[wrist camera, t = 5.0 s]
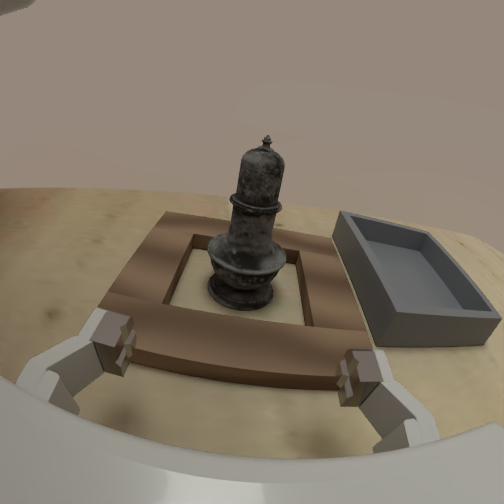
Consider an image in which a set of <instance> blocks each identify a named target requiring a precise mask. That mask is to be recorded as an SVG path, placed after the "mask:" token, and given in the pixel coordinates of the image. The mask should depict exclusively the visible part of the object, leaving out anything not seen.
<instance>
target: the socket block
mask: <svg viewBox="0 0 504 504" xmlns="http://www.w3.org/2000/svg"><path fill="white" fill-rule="evenodd" d="M230 225H231V221H227V220H221V219H214V218H208V217H201V216H194V215H188V214H181V213H174V212H167V211H166V212H165V214H164V215H163V216H162V217H161V219H160V220H159V221H158V222H157V224H156V225H155V226H154V228H153V229H152V230H151V232H150V233H149V234H148V235H147V237H146V238H145V239H144V241H143V242H142V243H141V245H140V246H139V248H138V249H137V250H136V252H135V253H134V254H133V256H132V257H131V259H130V260H129V261H128V263H127V264H126V266H125V267H124V268H123V270H122V271H121V273H120V274H119V276H118V277H117V278H116V280H115V281H114V283H113V284H112V286H111V287H110V289H109V290H108V292H107V293H106V295H105V296H104V298H103V299H102V301H101V302H100V304H99V306H98V308H101V309H105V310H109V311H112V312H116V313H119V314H123V315H126V316H130V317H132V318H133V320H134V326H133V330H134V331H135V332H136V346H135V350H134V353H133V355H132V356H130V357H128V361H130V362H134V363H138V364H142V365H146V366H150V367H154V368H158V369H162V370H167V371H171V372H176V373H181V374H186V375H191V376H197V377H202V378H208V379H214V380H221V381H227V382H234V383H242V384H250V385H259V386H269V387H281V388H294V389H314V390H340V389H341V388H340V387H339V386H338V385H337V384H336V379H335V373H336V369H337V366H338V364H339V362H341V361H342V360H344V359H345V357H344V354H345V353H346V351H347V350H348V349H369V350H373V348H372V345H371V342H370V339H369V336H368V333H367V330H366V327H365V324H364V322H363V319H362V316H361V313H360V311H359V308H358V305H357V302H356V300H355V297H354V295H353V292H352V289H351V287H350V284H349V282H348V279H347V277H346V274H345V272H344V269H343V267H342V264H341V262H340V259H339V257H338V255H337V252H336V250H335V247H334V245H333V243H332V240H331V238H326V237H321V236H315V235H310V234H304V233H299V232H293V231H287V230H282V229H276V228H273V230H272V240H273V241H274V242H276V243H277V244H279V245H280V246H281V248H282V249H283V250H284V252H285V254H286V262H287V263H293V264H296V269H297V275H298V281H299V287H300V293H301V300H302V306H303V313H304V320H305V326H302V325H293V324H285V323H277V322H269V321H262V320H254V319H247V318H241V317H234V316H228V315H222V314H215V313H209V312H204V311H198V310H192V309H187V308H182V307H176V306H171V305H169V303H170V300H171V298H172V295H173V293H174V290H175V288H176V286H177V283H178V281H179V278H180V276H181V274H182V271H183V269H184V267H185V264H186V262H187V260H188V257H189V255H190V253H191V250H192V248H199V249H205V250H207V246H208V243H209V241H210V240H211V239H212V238H214V237H215V236H217V235H219V234H221V233H226V232H228V230H229V227H230Z"/></svg>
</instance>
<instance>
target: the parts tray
mask: <svg viewBox="0 0 504 504" xmlns="http://www.w3.org/2000/svg"><path fill="white" fill-rule="evenodd" d="M332 237H333V239H334V241H335V244H336V246H337V248H338V250H339V253H340V255H341V257H342V260H343V262H344V264H345V267H346V269H347V271H348V274H349V276H350V279H351V281H352V283H353V286H354V288H355V291H356V293H357V296H358V299H359V301H360V304H361V306H362V309H363V311H364V314H365V317H366V319H367V322H368V325H369V328H370V330H371V333H372V336H373V339H374V342H375V344H376V346H385V347H450V346H473V345H484V343H485V342H486V341H487V339H488V338H489V337H490V335H491V334H492V332H493V331H494V330H495V328H496V327H497V325H498V324H499V322H500V321H501V319H502V318H501V316H500V315H499V314H498V312H497V311H496V309H495V308H494V307H493V305H492V304H491V303H490V301H489V300H488V299H487V298H486V296H485V295H484V294H483V292H482V291H481V290H480V289H479V288H478V286H477V285H476V284H475V283H474V281H473V280H472V279H471V278H470V277H469V275H468V274H467V273H466V272H465V271H464V270H463V268H462V267H461V266H460V265H459V264H458V263H457V262H456V261H455V259H454V258H453V257H452V256H451V255H450V254H449V253H448V252H447V251H446V250H445V249H444V248H443V246H442V245H441V244H440V243H439V242H438V241H437V240H436V239H435V238H434V237H433V236H432V235H431V234H430V233H429V232H426V231H423V230H419V229H415V228H411V227H407V226H404V225H400V224H396V223H392V222H387V221H383V220H379V219H375V218H371V217H366V216H362V215H358V214H353V213H349V212H344V211H340V212H339V216H338V219H337V222H336V225H335V229H334V232H333V235H332Z"/></svg>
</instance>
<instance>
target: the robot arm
mask: <svg viewBox="0 0 504 504" xmlns="http://www.w3.org/2000/svg"><path fill="white" fill-rule="evenodd" d="M35 1H36V0H0V16H1V15H4V14H8V13H11V12H14V11H17V10H20V9H24V8H27V7H29V6H30V5H31V4H33V3H34V2H35ZM133 326H134V320H133V318H132V317H130V316H126V315H123V314H119V313H116V312H112V311H109V310H105V309H101V308H98V307H97V308H96V309H94V311H93V312H92V314H91V315H90V317H89V318H88V320H87V322H86V323H85V325H84V326H83V328H82V330H81V331H80V333H79V335H78V336H75V335H74V336H72V337H70V338H69V339H67V340H65V341H63V342H61V343H59V344H57V345H55V346H54V347H52V348H50V349H48V350H46V351H44V352H42V353H41V354H39V355H37V356H35V357H33V358H31V359H29V361H28V363H27V364H26V366H25V368H24V369H23V371H22V373H21V374H20V376H19V378H18V380H17V381H16V383H15V384H14V383H12V382H11V381H9V380H7V379H6V378H4V377H3V376H1V375H0V504H504V427H503V426H502V425H500V424H499V423H498V422H490V423H487V424H485V425H482V426H480V427H477V428H474V429H472V430H469V431H466V432H463V433H460V434H457V435H454V436H450V437H447V438H444V439H440V436H439V432H438V429H437V426H436V423H435V420H434V417H433V414H432V413H431V412H430V411H429V410H427V409H426V408H425V407H424V406H423V405H422V404H421V403H420V402H419V401H418V400H417V399H416V398H415V397H414V396H413V395H412V394H411V393H410V392H408V391H407V390H406V389H405V388H404V387H403V386H402V385H401V384H400V383H399V382H398V381H395V380H394V377H393V375H392V372H391V369H390V366H389V363H388V360H387V357H386V355H385V352H384V351H383V350H369V349H348V350H347V351H346V353H345V354H344V357H345V359H344V360H342V361H341V362H339V364H338V366H337V369H336V373H335V379H336V384H337V385H338V386H339V387H340V388H341V389H340V390H339V392H338V397H339V402H340V407H359V409H360V410H361V411H362V413H363V414H364V415H365V417H366V418H367V419H368V421H369V422H370V423H371V424H372V426H373V427H374V428H375V430H376V431H377V432H378V434H379V435H380V436H381V438H382V440H381V441H379V442H378V443H377V444H375V445H374V447H373V454H365V455H357V456H347V457H334V458H314V459H278V458H258V457H245V456H235V455H226V454H218V453H211V452H205V451H199V450H193V449H188V448H183V447H178V446H173V445H169V444H164V443H160V442H156V441H152V440H148V439H145V438H141V437H138V436H134V435H131V434H127V433H124V432H121V431H118V430H115V429H112V428H109V427H106V426H103V425H101V424H98V423H95V422H93V421H90V420H87V419H85V418H82V417H80V416H78V414H79V411H80V409H79V406H78V405H77V403H76V402H75V400H74V399H73V396H75V395H76V394H77V393H79V392H80V391H81V390H82V389H84V388H85V387H86V386H88V385H89V384H90V383H91V382H93V381H94V380H95V379H97V378H98V377H99V376H100V375H102V374H103V373H104V372H107V373H111V374H114V375H118V376H121V377H124V375H125V372H126V370H127V367H128V365H129V362H128V357H130V356H132V355H133V353H134V350H135V346H136V332H135V331H134V330H133Z"/></svg>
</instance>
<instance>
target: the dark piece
mask: <svg viewBox="0 0 504 504" xmlns="http://www.w3.org/2000/svg"><path fill="white" fill-rule="evenodd" d="M262 142H263V145H262V146H259V147H258V148H255V149H251V150H249V151H247V152H246V153H245V154H244V155H243V157H242V160H241V167H240V172H239V179H238V185H237V192H236V193H235V194H233V195H231V197H230V202H231V203H232V204H233V211H232V218H231V225H230V227H229V230H228V232H226V233H221V234H219V235H217V236H215V237H214V238H212V239H211V240H210V241H209V243H208V246H207V250H208V254H209V256H210V258H211V263H212V266H213V269H214V271H215V273H214V274H213V275H212V276H211V277H210V279H209V281H208V290H209V293H210V295H211V296H212V297H213V298H214V299H215V300H216V301H217V302H219V303H220V304H222V305H224V306H226V307H229V308H231V309H236V310H255V309H259V308H261V307H264V306H265V305H267V304H268V303H269V302H270V300H271V299H272V297H273V289H272V286H271V284H270V283H269V282H271V281H272V280H273V278H274V277H275V276H276V275H277V273H278V271H279V269H281V268H282V267H283V266H284V264H285V263H286V254H285V252H284V250H283V249H282V248H281V246H280V245H279V244H277V243H276V242H274V241H273V240H272V230H273V225H274V221H275V216H276V213H278V212H280V211H281V210H282V205H281V204H280V202H279V201H278V197H279V192H280V187H281V182H282V177H283V173H284V160H283V158H282V157H281V156H280V155H279V154H278V153H276V152H274V150H273V149H272V148H270V144H271V143H272V141H271V138H269V135H267V136H266V137H265V138H264V140H262Z"/></svg>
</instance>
